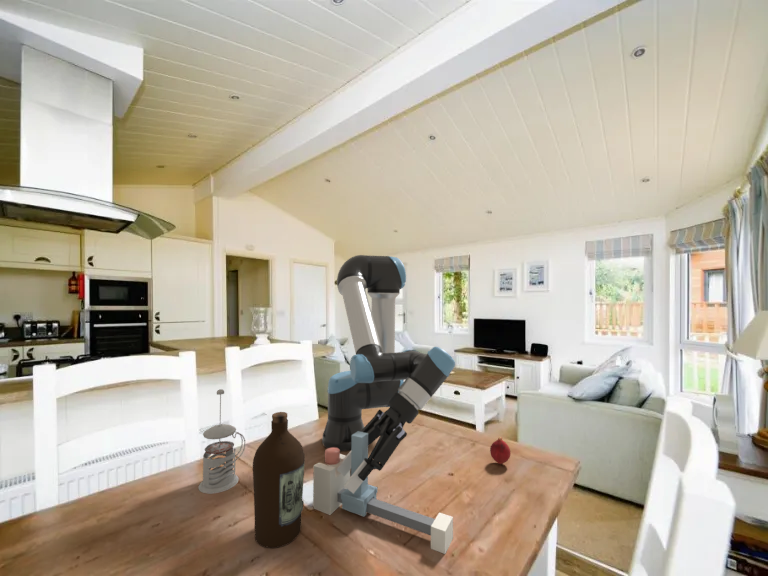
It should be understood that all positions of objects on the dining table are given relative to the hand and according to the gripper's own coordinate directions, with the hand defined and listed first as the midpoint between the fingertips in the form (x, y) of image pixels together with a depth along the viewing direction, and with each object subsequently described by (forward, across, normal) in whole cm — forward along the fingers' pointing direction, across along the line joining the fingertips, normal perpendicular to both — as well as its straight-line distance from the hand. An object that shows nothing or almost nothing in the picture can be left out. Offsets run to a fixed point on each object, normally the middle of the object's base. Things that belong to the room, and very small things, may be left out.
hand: (344, 480), depth 78 cm
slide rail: (0, -5, -11) cm, 12 cm away
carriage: (+2, 0, -7) cm, 8 cm away
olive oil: (+16, 0, +4) cm, 17 cm away
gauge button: (0, +6, +2) cm, 7 cm away
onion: (-29, +7, -41) cm, 51 cm away
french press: (+25, +26, +14) cm, 38 cm away
